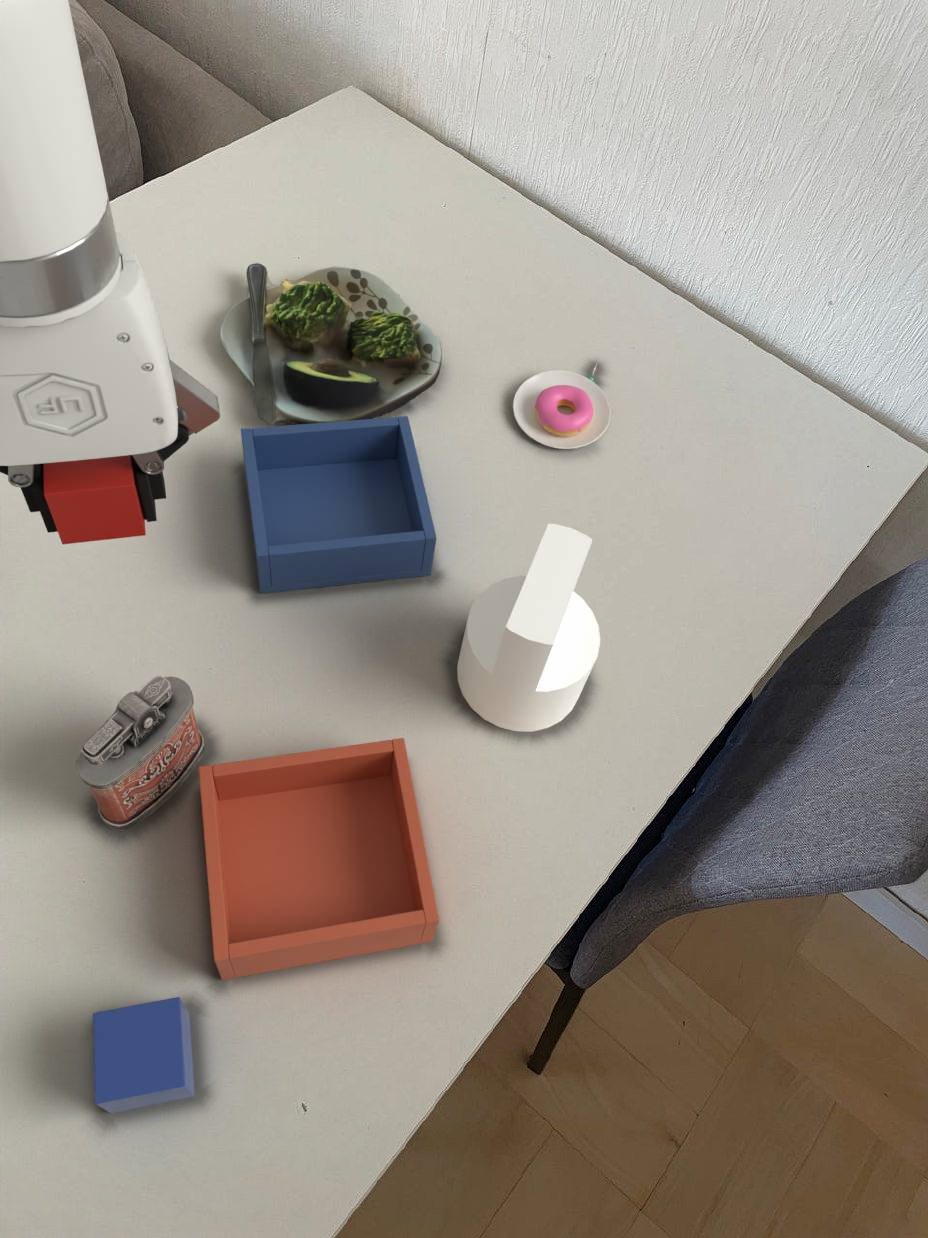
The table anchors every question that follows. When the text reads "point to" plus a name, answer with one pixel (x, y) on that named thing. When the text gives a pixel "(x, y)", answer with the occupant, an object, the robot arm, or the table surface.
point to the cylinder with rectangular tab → (531, 640)
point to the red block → (93, 499)
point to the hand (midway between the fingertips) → (101, 504)
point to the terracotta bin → (314, 858)
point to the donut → (561, 409)
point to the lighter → (142, 752)
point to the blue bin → (337, 504)
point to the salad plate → (329, 346)
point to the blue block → (142, 1055)
